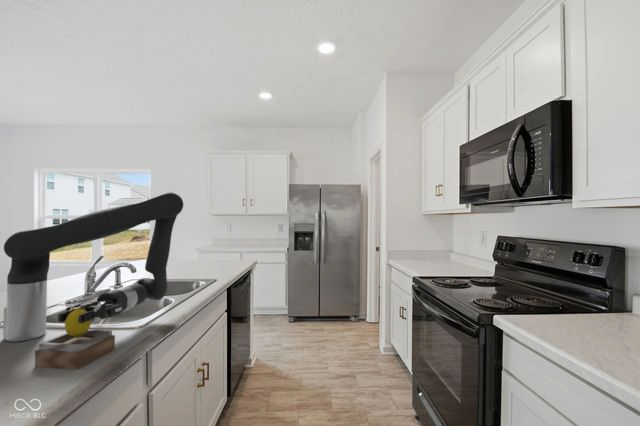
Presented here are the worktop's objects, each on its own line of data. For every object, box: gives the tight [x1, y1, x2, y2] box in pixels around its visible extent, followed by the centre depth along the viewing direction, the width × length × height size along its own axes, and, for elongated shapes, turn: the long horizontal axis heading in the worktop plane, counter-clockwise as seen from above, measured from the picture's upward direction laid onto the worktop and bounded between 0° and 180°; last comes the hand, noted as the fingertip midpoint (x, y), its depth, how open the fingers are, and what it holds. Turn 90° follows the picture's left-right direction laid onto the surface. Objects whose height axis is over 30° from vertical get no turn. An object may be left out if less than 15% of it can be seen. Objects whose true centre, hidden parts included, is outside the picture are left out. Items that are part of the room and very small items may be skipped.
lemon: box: [64, 308, 92, 338], centre depth 85 cm, size 6×6×8 cm
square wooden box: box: [34, 328, 116, 370], centre depth 85 cm, size 12×12×6 cm
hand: (69, 318), depth 83 cm, fingers closed on lemon, 5 cm apart
